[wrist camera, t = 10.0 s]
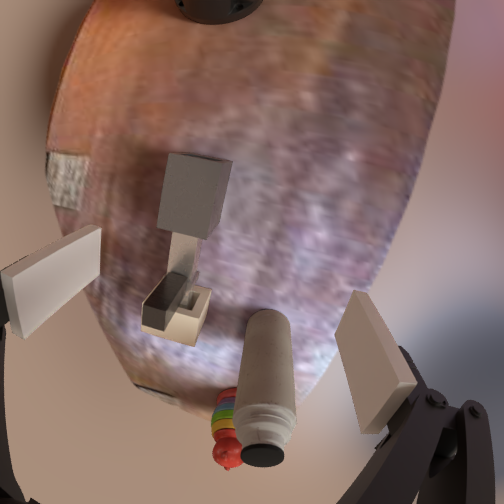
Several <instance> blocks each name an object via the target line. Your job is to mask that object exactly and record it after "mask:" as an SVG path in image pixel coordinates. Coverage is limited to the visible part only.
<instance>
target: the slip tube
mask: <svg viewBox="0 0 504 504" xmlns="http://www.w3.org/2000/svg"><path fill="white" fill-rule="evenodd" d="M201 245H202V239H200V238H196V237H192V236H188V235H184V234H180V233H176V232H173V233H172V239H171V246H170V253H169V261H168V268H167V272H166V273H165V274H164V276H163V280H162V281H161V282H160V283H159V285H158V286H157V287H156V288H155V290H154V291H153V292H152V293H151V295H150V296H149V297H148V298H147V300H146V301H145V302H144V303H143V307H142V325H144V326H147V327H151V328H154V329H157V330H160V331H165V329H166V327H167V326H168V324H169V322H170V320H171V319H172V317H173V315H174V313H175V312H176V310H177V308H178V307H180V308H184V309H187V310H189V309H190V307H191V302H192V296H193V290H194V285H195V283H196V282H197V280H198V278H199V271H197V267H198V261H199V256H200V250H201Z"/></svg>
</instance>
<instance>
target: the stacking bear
mask: <svg viewBox="0 0 504 504" xmlns="http://www.w3.org/2000/svg"><path fill="white" fill-rule="evenodd" d="M236 392H237V388H232V389H228V390H225V391H223V392H221V393H220V394H219V395H218V397H217V407H216V409H215V411H214V413H213V415H212V420H211V427H212V436H213V438H214V440H215V441H216V444H215V446H214V448H213V453H212V454H213V458H214V460H215V461H216V462H217V463H218V464H220V465H221V466H224V468H225V469H226V470H227V471H229V469H230V468H233V467H238V466H240V465H241V464H242V463H244V462H243V461H242V460H241V458H240V454H241V450H242V444H241V443H240V442H239V441H238V439H237V437H236V433H235V429H236V428H235V427H234V425H233V422H232V418H233V411H234V405H235V398H236Z"/></svg>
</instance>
